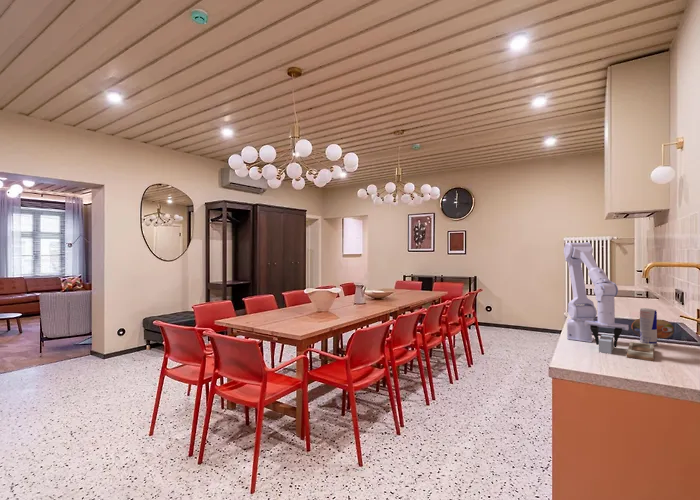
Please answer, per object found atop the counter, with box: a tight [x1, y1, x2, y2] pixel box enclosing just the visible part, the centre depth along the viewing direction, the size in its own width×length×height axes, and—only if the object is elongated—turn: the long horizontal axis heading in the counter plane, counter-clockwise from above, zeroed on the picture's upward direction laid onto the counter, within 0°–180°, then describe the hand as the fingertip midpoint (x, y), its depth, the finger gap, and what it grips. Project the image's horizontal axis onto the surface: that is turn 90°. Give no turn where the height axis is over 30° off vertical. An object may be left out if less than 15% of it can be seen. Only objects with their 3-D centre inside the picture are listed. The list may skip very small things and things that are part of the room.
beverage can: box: [639, 307, 658, 346], centre depth 156 cm, size 6×6×15 cm
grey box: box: [598, 334, 615, 355], centre depth 148 cm, size 4×12×5 cm, turn 140°
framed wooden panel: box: [626, 341, 655, 362], centre depth 142 cm, size 8×18×2 cm, turn 140°
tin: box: [631, 318, 675, 339], centre depth 167 cm, size 15×3×8 cm, turn 62°
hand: (606, 345), depth 148 cm, fingers open, 5 cm apart
